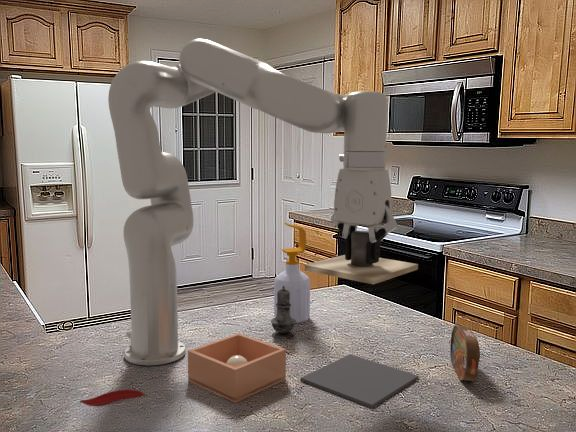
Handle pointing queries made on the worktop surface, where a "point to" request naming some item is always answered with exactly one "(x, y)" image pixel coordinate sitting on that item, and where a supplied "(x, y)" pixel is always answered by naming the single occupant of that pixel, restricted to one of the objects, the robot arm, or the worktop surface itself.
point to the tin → (464, 353)
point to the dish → (236, 366)
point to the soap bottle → (295, 282)
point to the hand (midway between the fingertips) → (361, 259)
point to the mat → (360, 380)
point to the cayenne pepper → (113, 397)
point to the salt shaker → (283, 317)
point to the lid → (361, 264)
